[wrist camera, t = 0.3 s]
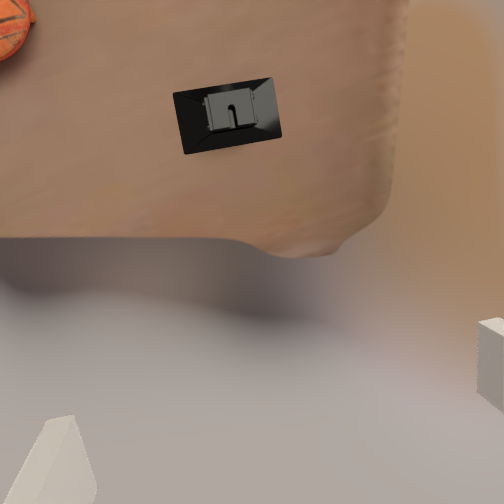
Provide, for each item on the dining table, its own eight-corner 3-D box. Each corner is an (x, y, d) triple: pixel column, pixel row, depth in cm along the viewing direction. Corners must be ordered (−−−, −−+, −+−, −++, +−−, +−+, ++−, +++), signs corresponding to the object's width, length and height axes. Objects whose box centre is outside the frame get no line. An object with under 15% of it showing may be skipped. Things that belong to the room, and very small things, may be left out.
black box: (171, 165, 37) (166, 164, 32) (154, 84, 35) (147, 72, 31) (297, 143, 38) (309, 139, 33) (286, 64, 36) (297, 49, 32)
